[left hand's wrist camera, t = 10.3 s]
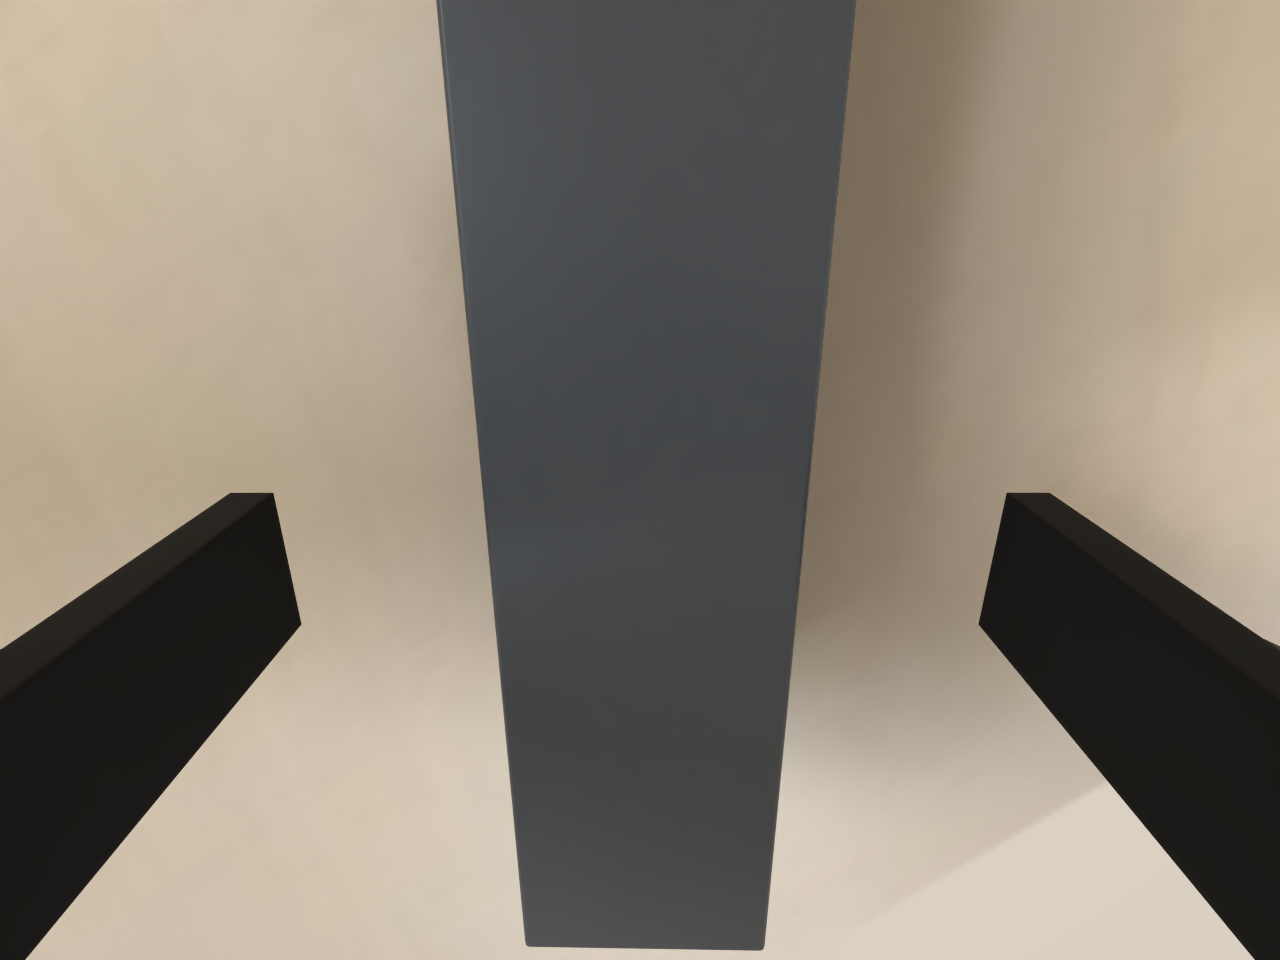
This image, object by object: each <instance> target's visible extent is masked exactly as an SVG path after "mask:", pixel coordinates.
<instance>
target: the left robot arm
mask: <svg viewBox="0 0 1280 960" xmlns="http://www.w3.org/2000/svg"><path fill="white" fill-rule="evenodd" d="M300 625H301V620H300V615H299V611H298V606H297V601H296V597H295V592H294V587H293V583H292V578H291V573H290V569H289V564H288V559H287V555H286V550H285V545H284V541H283V536H282V531H281V527H280V522H279V517H278V513H277V508H276V503H275V499H274V494H273V493H230V494H228V495H227V496H225V497H224V498H222V499H221V500H219V501H218V502H216V503H215V504H214V505H212V506H211V507H209V508H208V509H206V510H205V511H203V512H202V513H200V514H199V515H197V516H196V517H194V518H193V519H192V520H190V521H189V522H187V523H186V524H184V525H183V526H181V527H180V528H178V529H177V530H175V531H174V532H173V533H171V534H170V535H168V536H167V537H165V538H164V539H162V540H161V541H159V542H158V543H156V544H155V545H153V546H152V547H151V548H149V549H148V550H146V551H145V552H143V553H142V554H140V555H139V556H137V557H136V558H134V559H133V560H132V561H130V562H129V563H127V564H126V565H124V566H123V567H121V568H120V569H118V570H117V571H115V572H114V573H112V574H111V575H110V576H108V577H107V578H105V579H104V580H102V581H101V582H99V583H98V584H96V585H95V586H93V587H92V588H91V589H89V590H88V591H86V592H85V593H83V594H82V595H80V596H79V597H77V598H76V599H74V600H73V601H71V602H70V603H69V604H67V605H66V606H64V607H63V608H61V609H60V610H58V611H57V612H55V613H54V614H52V615H51V616H49V617H48V618H47V619H45V620H44V621H42V622H41V623H39V624H38V625H36V626H35V627H33V628H32V629H30V630H29V631H28V632H26V633H25V634H23V635H22V636H20V637H19V638H17V639H16V640H14V641H13V642H11V643H10V644H8V645H7V646H6V647H4V648H2V649H0V960H25V959H26V958H27V957H28V956H29V954H30V953H31V952H32V951H33V950H34V948H35V947H36V946H37V945H38V944H39V942H40V941H41V940H42V939H43V937H44V936H45V935H46V934H47V933H48V931H49V930H50V929H51V928H52V927H53V925H54V924H55V923H56V922H57V920H58V919H59V918H60V917H61V916H62V914H63V913H64V912H65V911H66V910H67V908H68V907H69V906H70V905H71V903H72V902H73V901H74V900H75V899H76V897H77V896H78V895H79V894H80V893H81V891H82V890H83V889H84V888H85V886H86V885H87V884H88V883H89V882H90V880H91V879H92V878H93V877H94V876H95V874H96V873H97V872H98V871H99V869H100V868H101V867H102V866H103V865H104V863H105V862H106V861H107V860H108V859H109V857H110V856H111V855H112V854H113V852H114V851H115V850H116V849H117V848H118V846H119V845H120V844H121V843H122V842H123V840H124V839H125V838H126V837H127V835H128V834H129V833H130V832H131V831H132V829H133V828H134V827H135V826H136V825H137V823H138V822H139V821H140V820H141V818H142V817H143V816H144V815H145V814H146V812H147V811H148V810H149V809H150V808H151V806H152V805H153V804H154V803H155V801H156V800H157V799H158V798H159V797H160V795H161V794H162V793H163V792H164V791H165V789H166V788H167V787H168V786H169V784H170V783H171V782H172V781H173V780H174V778H175V777H176V776H177V775H178V774H179V772H180V771H181V770H182V769H183V767H184V766H185V765H186V764H187V763H188V761H189V760H190V759H191V758H192V757H193V755H194V754H195V753H196V752H197V750H198V749H199V748H200V747H201V746H202V744H203V743H204V742H205V741H206V740H207V738H208V737H209V736H210V735H211V734H212V732H213V731H214V730H215V729H216V727H217V726H218V725H219V724H220V723H221V721H222V720H223V719H224V718H225V717H226V715H227V714H228V713H229V712H230V710H231V709H232V708H233V707H234V706H235V704H236V703H237V702H238V701H239V700H240V698H241V697H242V696H243V695H244V693H245V692H246V691H247V690H248V689H249V687H250V686H251V685H252V684H253V683H254V681H255V680H256V679H257V678H258V676H259V675H260V674H261V673H262V672H263V670H264V669H265V668H266V667H267V666H268V664H269V663H270V662H271V661H272V659H273V658H274V657H275V656H276V655H277V653H278V652H279V651H280V650H281V649H282V647H283V646H284V645H285V644H286V642H287V641H288V640H289V639H290V638H291V636H292V635H293V634H294V633H295V632H296V630H297V629H298V628H299V627H300ZM979 625H980V627H981V628H982V629H983V630H984V632H985V633H986V634H987V635H988V636H989V638H990V639H991V640H992V641H993V642H994V644H995V645H996V646H997V647H998V649H999V650H1000V651H1001V652H1002V653H1003V655H1004V656H1005V657H1006V658H1007V659H1008V661H1009V662H1010V663H1011V664H1012V666H1013V667H1014V668H1015V669H1016V670H1017V672H1018V673H1019V674H1020V675H1021V676H1022V678H1023V679H1024V680H1025V681H1026V683H1027V684H1028V685H1029V686H1030V687H1031V689H1032V690H1033V691H1034V692H1035V693H1036V695H1037V696H1038V697H1039V698H1040V700H1041V701H1042V702H1043V703H1044V704H1045V706H1046V707H1047V708H1048V709H1049V710H1050V712H1051V713H1052V714H1053V715H1054V717H1055V718H1056V719H1057V720H1058V721H1059V723H1060V724H1061V725H1062V726H1063V727H1064V729H1065V730H1066V731H1067V732H1068V734H1069V735H1070V736H1071V737H1072V738H1073V740H1074V741H1075V742H1076V743H1077V744H1078V746H1079V747H1080V748H1081V749H1082V750H1083V752H1084V753H1085V754H1086V755H1087V757H1088V758H1089V759H1090V760H1091V761H1092V763H1093V764H1094V765H1095V766H1096V767H1097V769H1098V770H1099V771H1100V772H1101V774H1102V775H1103V776H1104V777H1105V778H1106V780H1107V781H1108V782H1109V783H1110V784H1111V786H1112V787H1113V788H1114V789H1115V791H1116V792H1117V793H1118V794H1119V795H1120V797H1121V798H1122V799H1123V800H1124V801H1125V803H1126V804H1127V805H1128V806H1129V808H1130V809H1131V810H1132V811H1133V812H1134V814H1135V815H1136V816H1137V817H1138V818H1139V820H1140V821H1141V822H1142V823H1143V825H1144V826H1145V827H1146V828H1147V829H1148V831H1149V832H1150V833H1151V834H1152V835H1153V837H1154V838H1155V839H1156V840H1157V842H1158V843H1159V844H1160V845H1161V846H1162V848H1163V849H1164V850H1165V851H1166V852H1167V854H1168V855H1169V856H1170V857H1171V859H1172V860H1173V861H1174V862H1175V863H1176V865H1177V866H1178V867H1179V868H1180V869H1181V871H1182V872H1183V873H1184V874H1185V875H1186V877H1187V878H1188V879H1189V880H1190V882H1191V883H1192V884H1193V885H1194V886H1195V888H1196V889H1197V890H1198V891H1199V893H1200V894H1201V895H1202V896H1203V897H1204V899H1205V900H1206V901H1207V902H1208V903H1209V905H1210V906H1211V907H1212V908H1213V910H1214V911H1215V912H1216V913H1217V914H1218V916H1219V917H1220V918H1221V919H1222V920H1223V922H1224V923H1225V924H1226V925H1227V927H1228V928H1229V929H1230V930H1231V931H1232V933H1233V934H1234V935H1235V936H1236V937H1237V939H1238V940H1239V941H1240V942H1241V943H1242V945H1243V946H1244V947H1245V948H1246V950H1247V951H1248V952H1249V953H1250V954H1251V956H1252V957H1253V958H1254V959H1255V960H1280V646H1278V645H1276V644H1273V643H1271V642H1269V641H1267V640H1265V639H1263V638H1261V637H1260V636H1258V635H1257V634H1255V633H1254V632H1252V631H1251V630H1250V629H1248V628H1247V627H1245V626H1244V625H1242V624H1241V623H1239V622H1238V621H1236V620H1235V619H1233V618H1232V617H1231V616H1229V615H1228V614H1226V613H1225V612H1223V611H1222V610H1220V609H1219V608H1217V607H1216V606H1214V605H1213V604H1211V603H1210V602H1209V601H1207V600H1206V599H1204V598H1203V597H1201V596H1200V595H1198V594H1197V593H1195V592H1194V591H1192V590H1191V589H1189V588H1188V587H1187V586H1185V585H1184V584H1182V583H1181V582H1179V581H1178V580H1176V579H1175V578H1173V577H1172V576H1170V575H1169V574H1168V573H1166V572H1165V571H1163V570H1162V569H1160V568H1159V567H1157V566H1156V565H1154V564H1153V563H1151V562H1150V561H1148V560H1147V559H1146V558H1144V557H1143V556H1141V555H1140V554H1138V553H1137V552H1135V551H1134V550H1132V549H1131V548H1129V547H1128V546H1127V545H1125V544H1124V543H1122V542H1121V541H1119V540H1118V539H1116V538H1115V537H1113V536H1112V535H1110V534H1109V533H1107V532H1106V531H1105V530H1103V529H1102V528H1100V527H1099V526H1097V525H1096V524H1094V523H1093V522H1091V521H1090V520H1088V519H1087V518H1086V517H1084V516H1083V515H1081V514H1080V513H1078V512H1077V511H1075V510H1074V509H1072V508H1071V507H1069V506H1068V505H1066V504H1065V503H1064V502H1062V501H1061V500H1059V499H1058V498H1056V497H1055V496H1053V495H1052V494H1050V493H1007V494H1006V499H1005V503H1004V508H1003V513H1002V517H1001V522H1000V527H999V531H998V536H997V541H996V545H995V550H994V555H993V559H992V564H991V569H990V573H989V578H988V583H987V587H986V592H985V597H984V601H983V606H982V611H981V615H980V620H979Z"/></svg>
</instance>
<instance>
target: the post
mask: <svg viewBox="0 0 1280 960" xmlns="http://www.w3.org/2000/svg"><path fill="white" fill-rule="evenodd" d="M436 3H437V13H438V24H439V35H440V45H441V56H442V66H443V77H444V87H445V98H446V109H447V119H448V130H449V140H450V151H451V161H452V172H453V183H454V193H455V204H456V214H457V225H458V235H459V246H460V257H461V267H462V278H463V288H464V299H465V309H466V320H467V331H468V341H469V352H470V362H471V373H472V383H473V394H474V405H475V415H476V426H477V436H478V447H479V457H480V468H481V479H482V489H483V500H484V510H485V521H486V531H487V542H488V553H489V563H490V574H491V584H492V595H493V605H494V616H495V626H496V637H497V648H498V658H499V669H500V679H501V690H502V700H503V711H504V722H505V732H506V743H507V753H508V764H509V774H510V785H511V796H512V806H513V817H514V827H515V838H516V848H517V859H518V870H519V880H520V891H521V901H522V912H523V922H524V933H525V942H526V945H527V946H529V947H580V948H640V949H700V950H763V949H764V944H765V934H766V924H767V913H768V903H769V893H770V882H771V872H772V862H773V851H774V841H775V831H776V821H777V810H778V800H779V790H780V779H781V769H782V759H783V748H784V738H785V728H786V717H787V707H788V697H789V687H790V676H791V666H792V656H793V645H794V635H795V625H796V614H797V604H798V594H799V584H800V573H801V563H802V553H803V542H804V532H805V522H806V511H807V501H808V491H809V480H810V470H811V460H812V450H813V439H814V429H815V419H816V408H817V398H818V388H819V377H820V367H821V357H822V347H823V336H824V326H825V316H826V305H827V295H828V285H829V274H830V264H831V254H832V243H833V233H834V223H835V213H836V202H837V192H838V182H839V171H840V161H841V151H842V140H843V130H844V120H845V110H846V99H847V89H848V79H849V68H850V58H851V48H852V37H853V27H854V17H855V6H856V0H436Z"/></svg>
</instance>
